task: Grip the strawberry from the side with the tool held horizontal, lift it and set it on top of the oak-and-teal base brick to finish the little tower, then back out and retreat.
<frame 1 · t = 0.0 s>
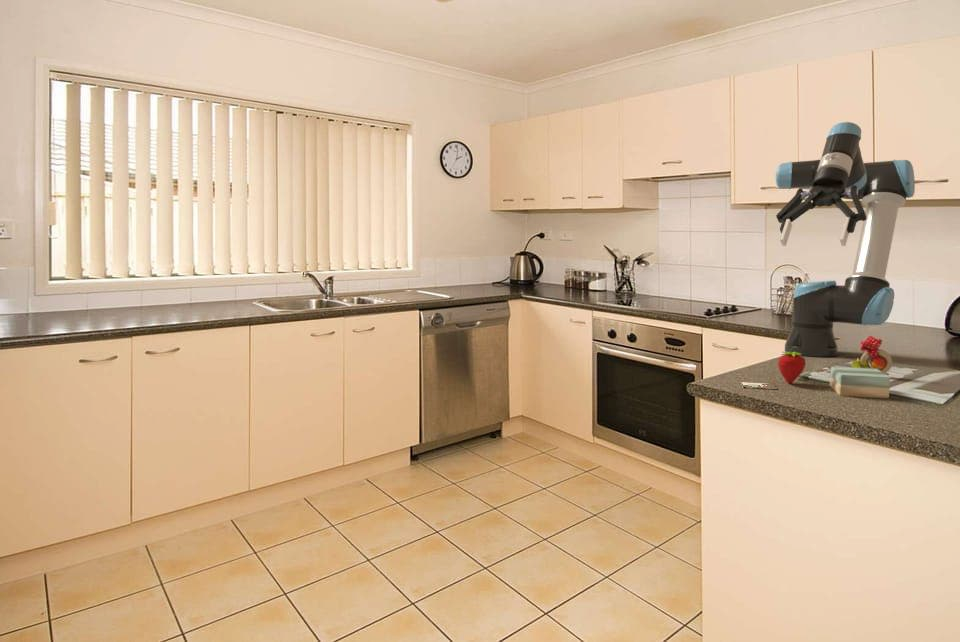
hand: (811, 242, 151), 36 cm above the table, tool tilted 35°, fingers open, 13 cm apart
instruction page: (759, 386, 154), on the table
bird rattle: (870, 376, 165), on the table
strawberry: (790, 384, 157), on the table
base brick: (858, 391, 148), on the table
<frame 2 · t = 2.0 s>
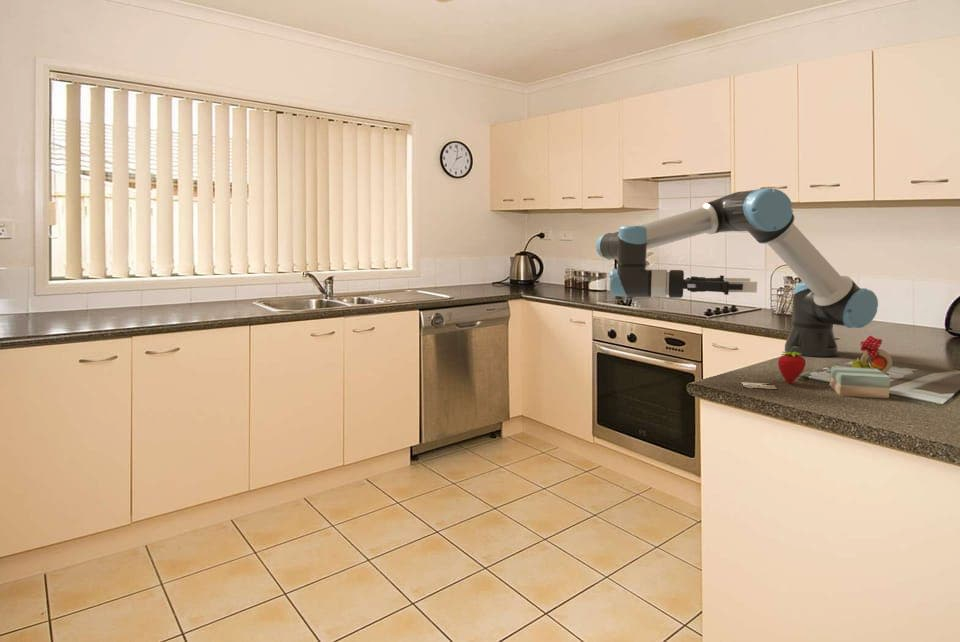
hand: (753, 285, 159), 25 cm above the table, tool horizontal, fingers open, 13 cm apart
nothing on the table moved.
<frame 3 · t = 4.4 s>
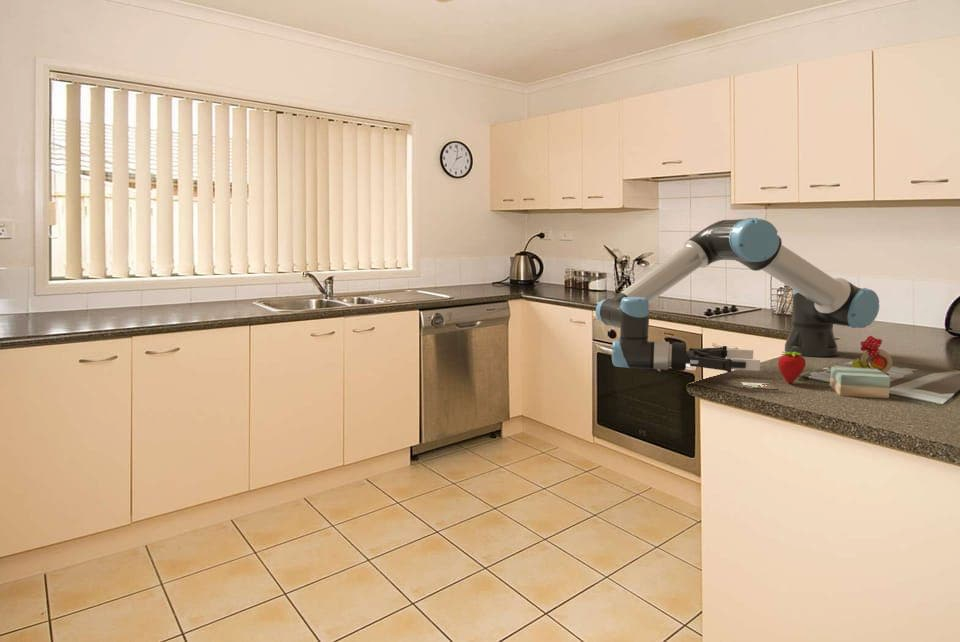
hand: (756, 359, 158), 6 cm above the table, tool horizontal, fingers open, 13 cm apart
nothing on the table moved.
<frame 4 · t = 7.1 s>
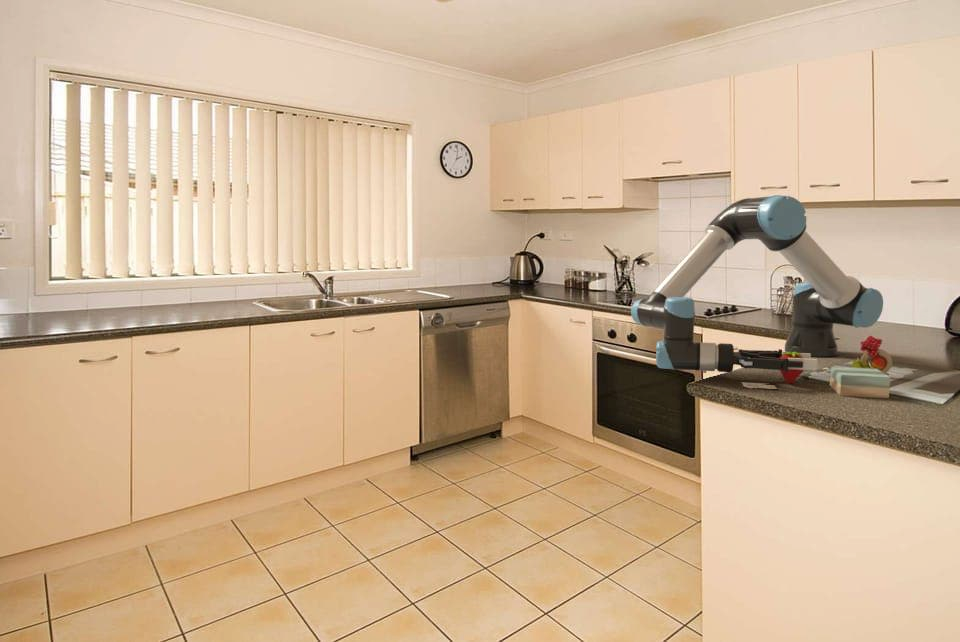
hand: (813, 361, 155), 6 cm above the table, tool horizontal, fingers closed on strawberry, 7 cm apart
strawberry: (790, 384, 157), on the table, touching gripper
everything else where it was.
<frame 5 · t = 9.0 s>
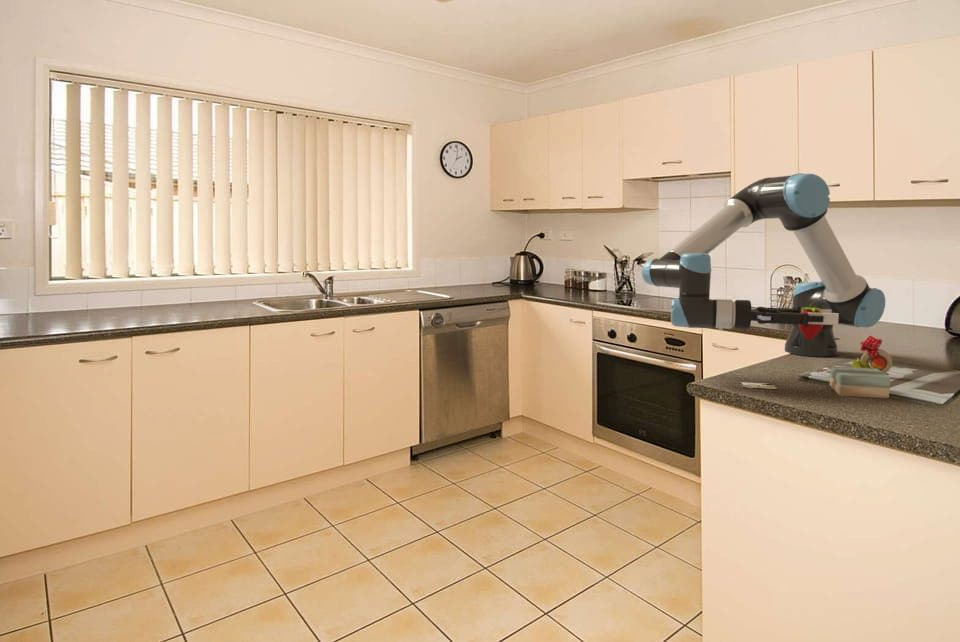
hand: (834, 317, 150), 18 cm above the table, tool horizontal, fingers closed on strawberry, 7 cm apart
strawberry: (809, 341, 152), point 12 cm above the table, touching gripper
everything else where it was.
when the fingers open (12 cm above the table, at t = 11.0 s): strawberry drops 1 cm, resting on base brick.
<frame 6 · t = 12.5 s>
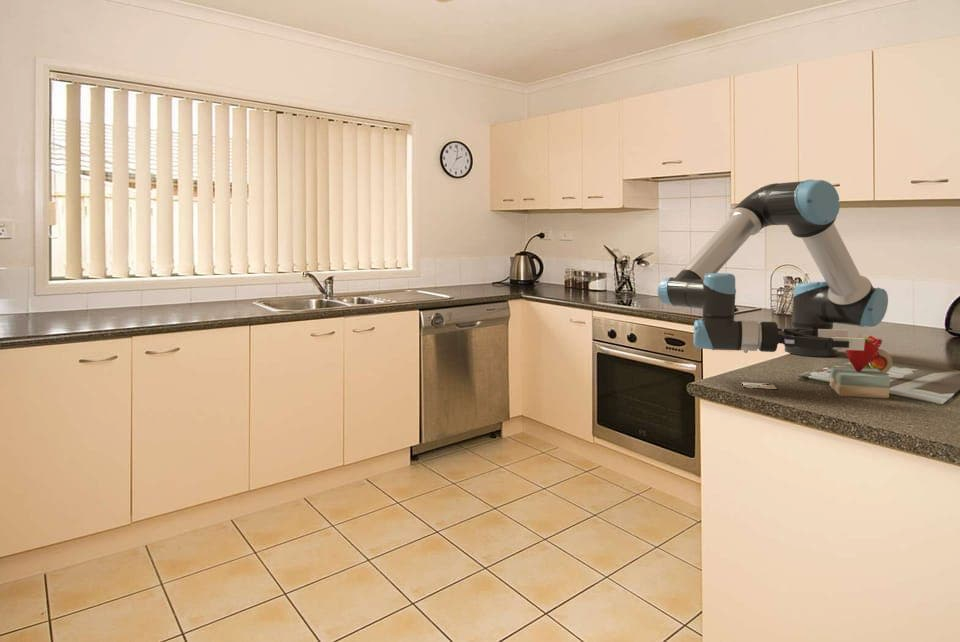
hand: (855, 339, 146), 13 cm above the table, tool horizontal, fingers open, 13 cm apart
strawberry: (859, 372, 147), point 5 cm above the table, touching base brick
everything else where it was.
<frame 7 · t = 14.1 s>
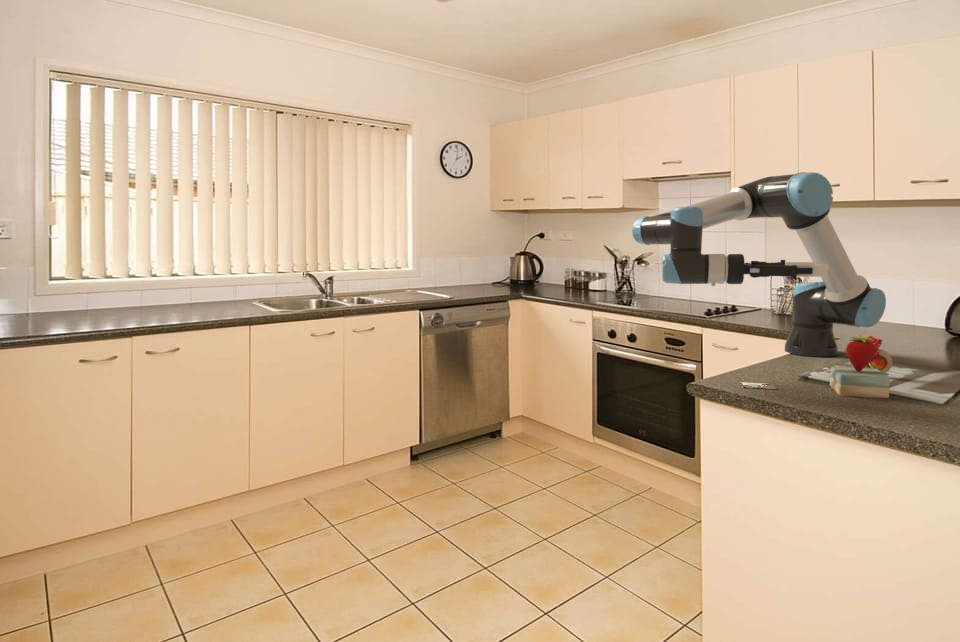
hand: (821, 269, 147), 30 cm above the table, tool horizontal, fingers open, 13 cm apart
nothing on the table moved.
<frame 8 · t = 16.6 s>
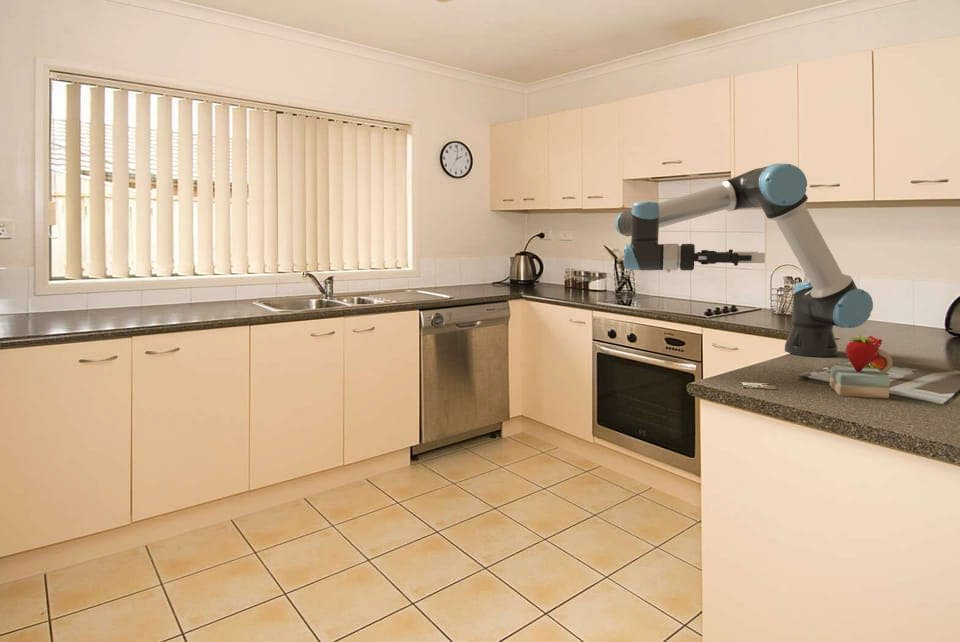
hand: (761, 257, 167), 32 cm above the table, tool horizontal, fingers open, 13 cm apart
nothing on the table moved.
at the end: strawberry inside the target area on the base brick (0.1 cm from its centre), point 4.8 cm above the base brick's base; strawberry tilted 0°; the gripper is holding nothing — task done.
